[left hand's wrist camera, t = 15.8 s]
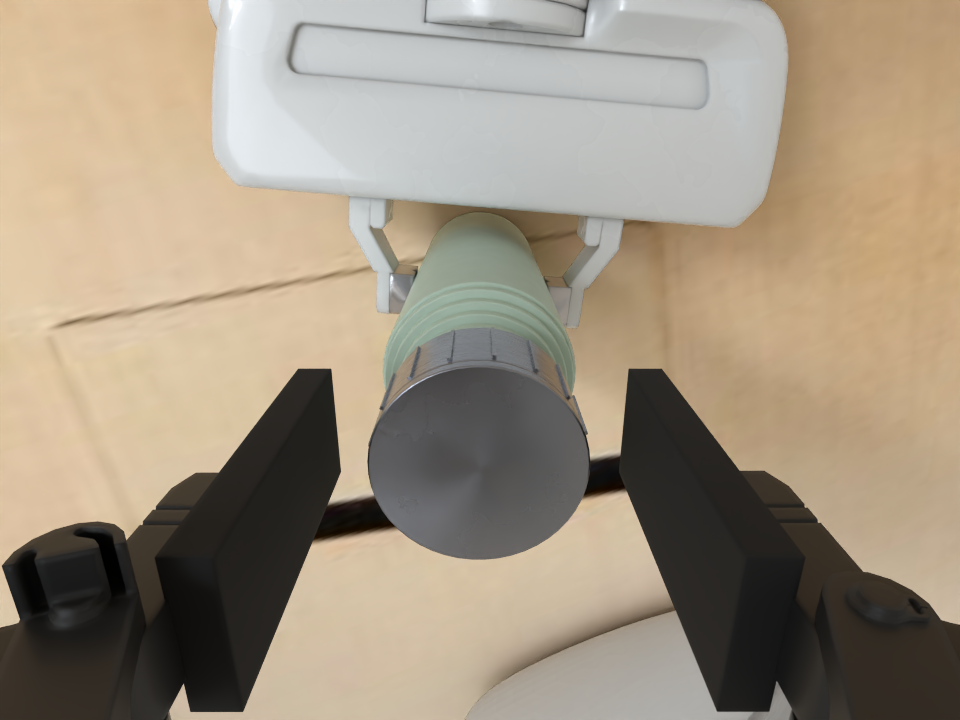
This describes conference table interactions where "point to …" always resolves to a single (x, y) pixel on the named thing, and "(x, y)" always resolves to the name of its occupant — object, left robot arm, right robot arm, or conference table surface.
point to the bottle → (479, 292)
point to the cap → (478, 446)
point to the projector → (616, 681)
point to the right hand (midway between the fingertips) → (478, 317)
